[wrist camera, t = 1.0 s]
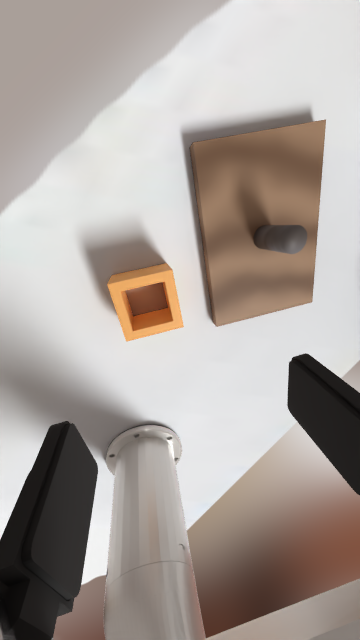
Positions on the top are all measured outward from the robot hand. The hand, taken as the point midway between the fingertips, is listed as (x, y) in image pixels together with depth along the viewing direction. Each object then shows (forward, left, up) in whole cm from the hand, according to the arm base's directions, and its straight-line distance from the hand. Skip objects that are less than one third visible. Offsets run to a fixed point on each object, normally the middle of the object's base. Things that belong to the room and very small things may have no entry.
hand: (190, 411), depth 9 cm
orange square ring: (0, +1, -20) cm, 20 cm away
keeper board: (+4, -14, -20) cm, 24 cm away
